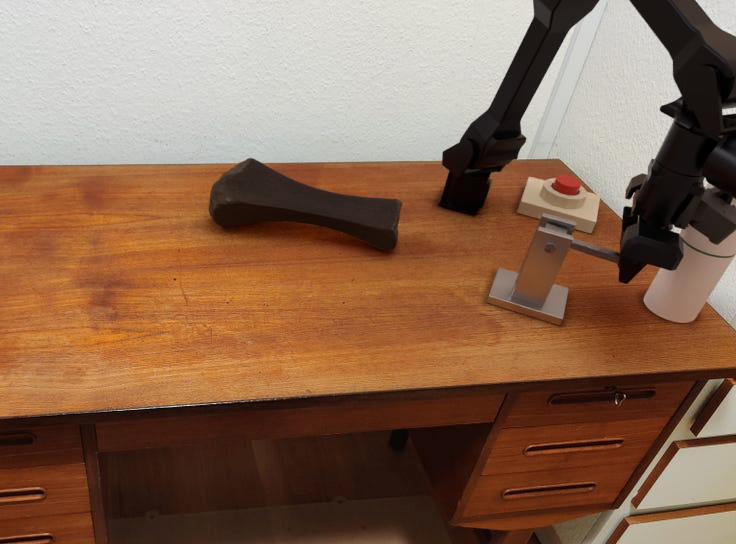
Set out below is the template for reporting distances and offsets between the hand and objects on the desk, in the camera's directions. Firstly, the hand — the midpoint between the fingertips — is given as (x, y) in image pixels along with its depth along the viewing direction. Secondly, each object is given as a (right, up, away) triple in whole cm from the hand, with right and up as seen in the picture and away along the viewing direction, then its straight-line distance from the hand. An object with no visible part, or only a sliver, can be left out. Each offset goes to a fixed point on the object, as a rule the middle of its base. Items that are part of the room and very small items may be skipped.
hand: (623, 276), depth 94 cm
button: (+3, +17, +25) cm, 31 cm away
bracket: (-10, -2, +7) cm, 12 cm away
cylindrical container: (+11, -3, +9) cm, 15 cm away
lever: (-4, +2, +1) cm, 5 cm away
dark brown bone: (-41, +9, +16) cm, 45 cm away
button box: (+3, +14, +28) cm, 31 cm away
